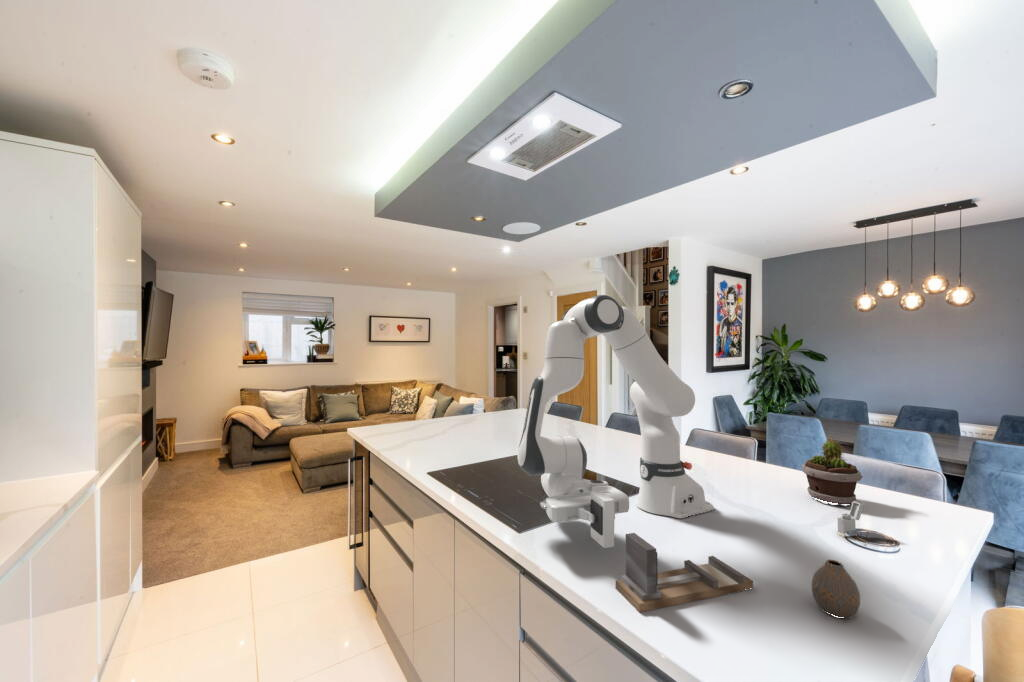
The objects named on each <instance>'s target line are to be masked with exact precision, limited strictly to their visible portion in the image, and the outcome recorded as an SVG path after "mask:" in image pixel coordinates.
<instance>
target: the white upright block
mask: <svg viewBox="0 0 1024 682" xmlns="http://www.w3.org/2000/svg"><path fill="white" fill-rule="evenodd" d="M591 512H595V513H596V514H597V517H598V518H597V520H598V521H597V522H594V523H590V522H589V523H590V537H591V538H592V539H593V540H594V541H595V542H596V543H597V544H599V545H600V546H601V547H602V548H603V549H608V548H614V547H615V519H614V499H612V498H610V497H609V496H607V495H606V494H604V493H603V492H601V491H598V492H591Z"/></svg>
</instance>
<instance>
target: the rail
mask: <svg viewBox="0 0 1024 682" xmlns="http://www.w3.org/2000/svg"><path fill="white" fill-rule="evenodd" d="M707 558H708V563H704V564H698V565H697V564H696V563H694V562H693V561H691V560H690V559H687V560H683V566H684V568H677V569H671V570H666V571H665V570H664V571H660V572H658V552H657V548H656V547H655V546H654V545H652V544H650V543H649V542H647V540H645V539H644V538H643V537H641V536H640V535H638V534H637V533H635V532H631V533H625V574H623V575H621V577H620V579H615V589H616V590H617V591H618V592H619V593H620V594H621V595H622V596H623V598H625V599H626V601H628V602H629V604H630V605H631V606H633V608H634V607H635V608H636V609H637V610H636V611H637V612H638V613H644V612H648V611H653V610H657V609H663V608H666V607H667V608H668V607H672V606H677V605H682V604H687V603H692V602H697V601H701V600H706V599H710V598H715V596H716V597H720V595H721V596H725V595H724V594H726V595H729V594H728V593H730V594H734V593H733V592H735V593H739V592H738V591H740V592H743V591H742V590H745V589H750V588H753V589H754V580H753V579H751V578H749V577H747V576H746V575H745V574H744V573H741V572H739V571H738V570H737V569H735V568H733V567H732V566H730V565H728V564H727V563H725V562H724V561H722V560H720V559H719V558H717V557H715V556H714V555H709V556H708V557H707ZM750 590H751V589H750ZM745 591H746V590H745Z"/></svg>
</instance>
